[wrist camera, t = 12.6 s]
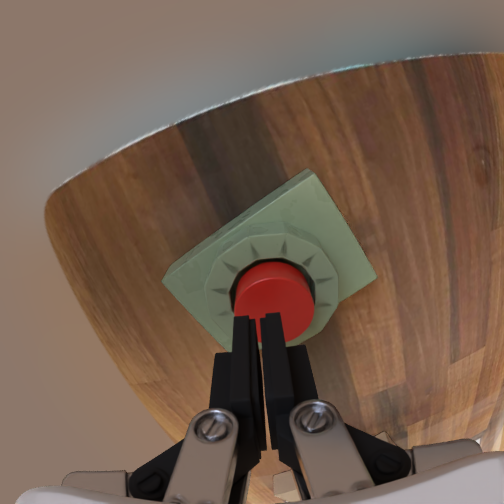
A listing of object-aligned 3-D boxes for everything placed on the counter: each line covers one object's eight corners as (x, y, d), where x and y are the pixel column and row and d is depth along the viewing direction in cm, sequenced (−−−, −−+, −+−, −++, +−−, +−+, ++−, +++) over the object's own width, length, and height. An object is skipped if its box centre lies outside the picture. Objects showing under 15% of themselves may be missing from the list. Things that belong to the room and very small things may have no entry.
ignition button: (263, 334, 16) (264, 356, 14) (221, 286, 15) (217, 305, 13) (321, 300, 15) (328, 319, 14) (282, 246, 14) (286, 261, 12)
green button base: (238, 340, 21) (235, 381, 17) (170, 265, 19) (150, 297, 15) (366, 262, 18) (390, 293, 15) (307, 167, 16) (322, 178, 13)
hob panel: (334, 504, 34) (337, 520, 31) (263, 470, 28) (264, 492, 25) (417, 470, 31) (423, 486, 28) (379, 424, 25) (387, 448, 22)
